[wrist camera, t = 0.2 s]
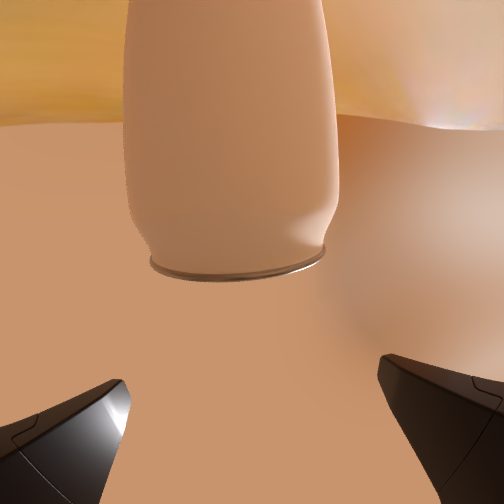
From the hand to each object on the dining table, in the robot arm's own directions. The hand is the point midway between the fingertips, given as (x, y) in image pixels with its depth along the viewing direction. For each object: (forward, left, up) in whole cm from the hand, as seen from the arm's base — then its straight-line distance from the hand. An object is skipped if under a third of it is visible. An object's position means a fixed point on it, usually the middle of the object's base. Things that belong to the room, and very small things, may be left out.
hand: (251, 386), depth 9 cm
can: (+2, 0, -16) cm, 16 cm away
